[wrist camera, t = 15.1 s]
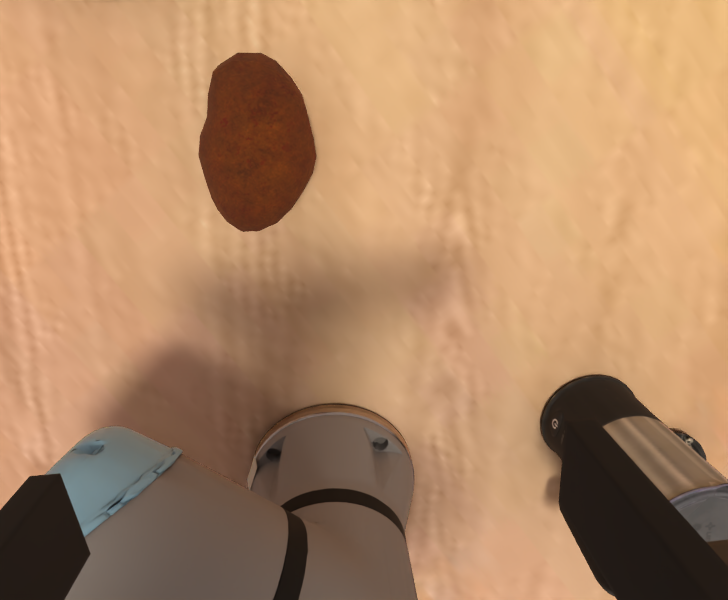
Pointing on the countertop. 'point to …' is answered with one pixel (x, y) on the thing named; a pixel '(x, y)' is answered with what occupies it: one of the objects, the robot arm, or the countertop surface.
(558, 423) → the milk frother
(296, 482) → the robot arm
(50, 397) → the countertop surface
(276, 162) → the potato
